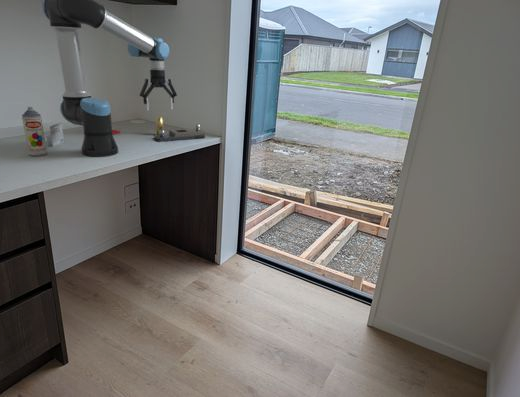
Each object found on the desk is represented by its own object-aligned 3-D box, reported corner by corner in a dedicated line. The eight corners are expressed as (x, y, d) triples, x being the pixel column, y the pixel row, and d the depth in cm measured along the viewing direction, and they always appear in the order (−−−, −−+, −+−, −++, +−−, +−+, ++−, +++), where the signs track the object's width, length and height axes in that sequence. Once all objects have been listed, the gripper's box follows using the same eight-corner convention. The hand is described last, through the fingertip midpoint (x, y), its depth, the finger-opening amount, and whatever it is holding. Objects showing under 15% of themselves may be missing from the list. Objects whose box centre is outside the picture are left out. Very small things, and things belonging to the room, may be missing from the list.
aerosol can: (29, 157, 151) (20, 108, 144) (28, 153, 156) (19, 106, 149) (48, 155, 155) (40, 108, 147) (46, 151, 160) (38, 105, 152)
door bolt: (160, 141, 190) (159, 128, 187) (154, 138, 197) (153, 125, 194) (204, 138, 204) (204, 125, 201) (197, 135, 211) (197, 123, 208)
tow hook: (109, 131, 209) (100, 133, 200) (107, 108, 205) (98, 109, 196) (123, 132, 208) (114, 135, 199) (121, 109, 204) (113, 111, 195)
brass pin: (157, 135, 203) (157, 117, 199) (155, 134, 206) (154, 116, 202) (164, 135, 205) (164, 117, 202) (162, 133, 208) (161, 116, 205)
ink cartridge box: (47, 147, 168) (44, 126, 164) (59, 141, 178) (56, 121, 175) (53, 147, 168) (49, 126, 164) (64, 142, 178) (61, 122, 175)
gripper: (176, 69, 202) (178, 107, 210) (131, 68, 189) (134, 109, 197) (182, 70, 197) (183, 109, 205) (135, 69, 183) (139, 111, 191)
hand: (159, 109), depth 201 cm, fingers open, 13 cm apart
